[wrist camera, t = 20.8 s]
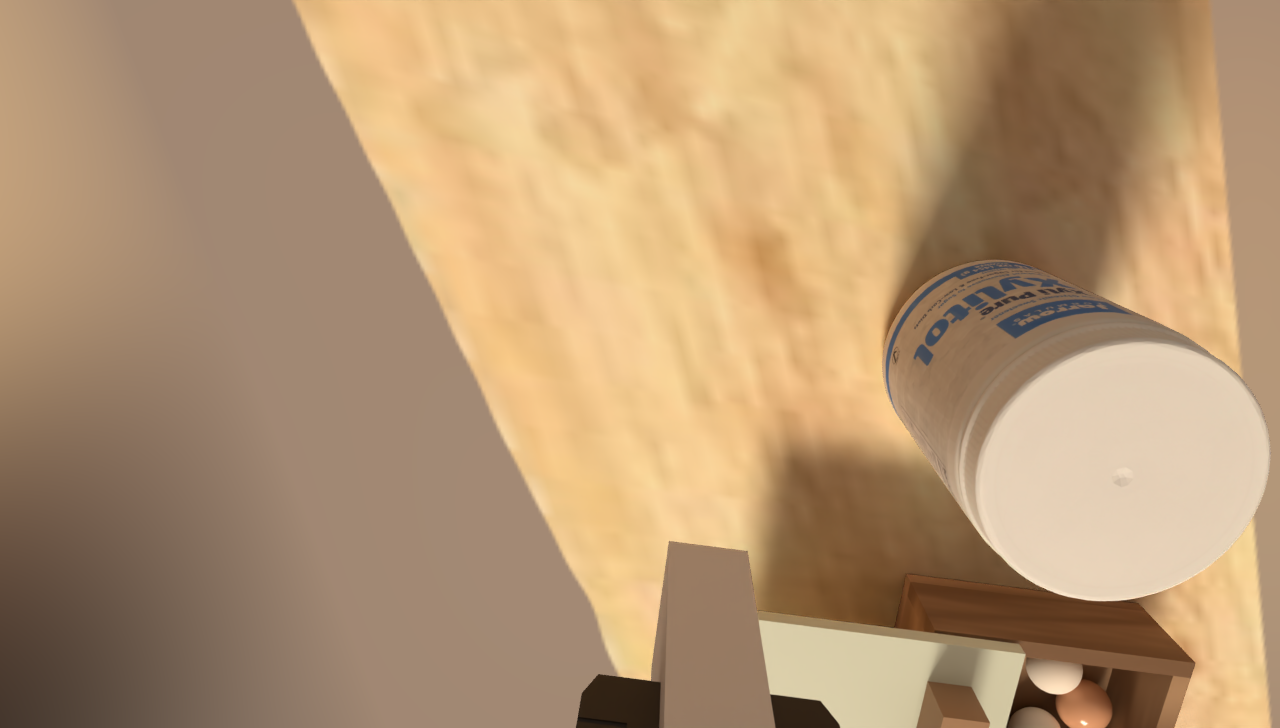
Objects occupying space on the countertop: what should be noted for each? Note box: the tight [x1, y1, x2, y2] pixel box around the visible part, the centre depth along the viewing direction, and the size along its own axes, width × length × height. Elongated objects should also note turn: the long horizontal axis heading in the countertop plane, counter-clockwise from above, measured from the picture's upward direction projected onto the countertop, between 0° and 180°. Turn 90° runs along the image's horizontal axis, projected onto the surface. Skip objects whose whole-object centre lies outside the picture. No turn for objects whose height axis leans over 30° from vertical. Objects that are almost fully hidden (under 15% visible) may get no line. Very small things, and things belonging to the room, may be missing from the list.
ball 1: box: [1026, 657, 1083, 694], centre depth 44 cm, size 3×3×3 cm
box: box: [895, 574, 1195, 728], centre depth 44 cm, size 10×12×5 cm
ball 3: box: [1055, 679, 1113, 728], centre depth 44 cm, size 3×3×3 cm
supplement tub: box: [882, 260, 1271, 601], centre depth 35 cm, size 10×10×15 cm
